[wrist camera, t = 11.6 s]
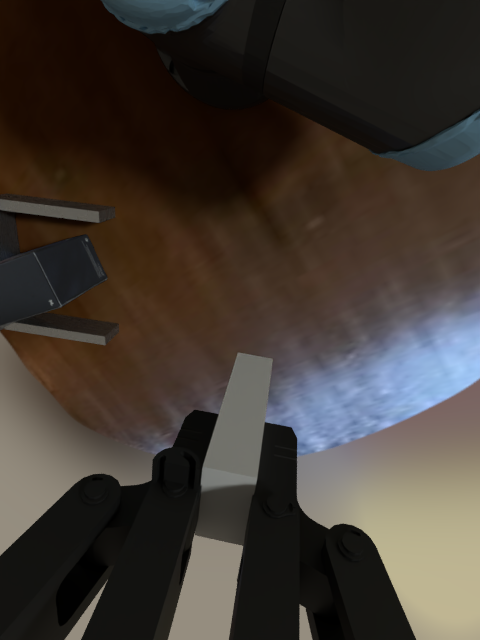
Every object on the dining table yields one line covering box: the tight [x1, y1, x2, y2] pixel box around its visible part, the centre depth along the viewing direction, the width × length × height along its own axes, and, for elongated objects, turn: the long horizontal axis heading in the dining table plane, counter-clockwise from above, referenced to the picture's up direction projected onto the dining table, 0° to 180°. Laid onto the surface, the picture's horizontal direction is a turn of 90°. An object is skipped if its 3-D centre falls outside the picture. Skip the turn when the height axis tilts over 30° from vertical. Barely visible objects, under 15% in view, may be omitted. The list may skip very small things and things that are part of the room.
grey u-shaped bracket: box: [0, 194, 119, 345], centre depth 47 cm, size 16×14×6 cm
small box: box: [0, 234, 107, 326], centre depth 45 cm, size 11×6×10 cm, turn 109°
